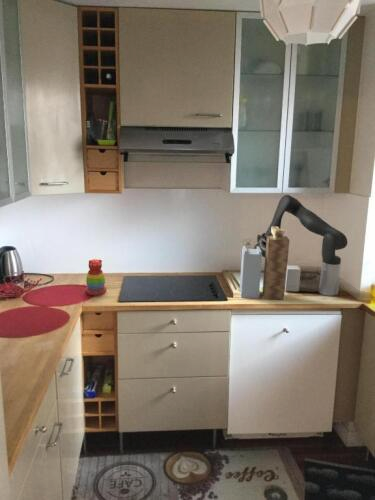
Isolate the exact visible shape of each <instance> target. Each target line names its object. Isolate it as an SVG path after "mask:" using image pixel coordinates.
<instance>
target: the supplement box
mask: <svg viewBox="0 0 375 500" xmlns="http://www.w3.org/2000/svg"><path fill="white" fill-rule="evenodd" d="M301 272H302V270H301V267H300V266H299V265H297V264H296V265H293V264H287V272H286V282H285V292H299V291H300V282H301V281H300V280H301V274H302V273H301Z"/></svg>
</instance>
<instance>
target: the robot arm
mask: <svg viewBox="0 0 375 500" xmlns="http://www.w3.org/2000/svg"><path fill="white" fill-rule="evenodd" d="M285 213H288V214H291V215H292V216H294V217H296V218H297V219H298V220H299V222H300V224H301V225H302V226H303V227H304V228H306V229H307V231H309V232H311V233H312V234H316V235H318V236H321V237H323V239H322V245H321V257H322V259H321V260H322V261H321V269H320V275H319V276H320V277H319V287H318V293H319V294H320V295H324V296H329V297H331V296H332V297H333V296H337V295H339V289H340V288H339V287H340V280H341V278H340V272H341V271H340V269H341V265H342V264H341V262H342V261H341V260H342V258H341V257H340V256H338V255H336V251H339V250H343V249H345V248H346V247H347V246H348V238H347V236H346V234H344V233H343V232H342V231H340V230H338V229H337V228H336V227H334V226H331V225H330V224H329V223H327V222H326V221H325V220H324V219H322V218H321V217H320V216H319V215H317V214H316V213H315V212H313V211H312V210H311V209H310V210H309V209H308V208H306V206H304V205H303V203H301V201H299V200H298V199H297V198H296V197H293V196H291V195H289V194H285V195H284V194H283V196H282V197H281V198H280V200H279V201H278V204H277V207H276V209H275V212H274V214H273V217H272V220H271V222H270V224H269V226H268V228H267V230H266V232H263V233H261V235H260V234H257V237H256V242H257V243H256V244H255V245H254V247H253V249H257V246H259V247H260V249H261V251H262V258H265V254H266V241H267V236H273V234H272V233H271V227H272V226H277V227H279V229H282V228H281V226H282V220H283V217H284V214H285Z"/></svg>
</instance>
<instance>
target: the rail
mask: <svg viewBox="0 0 375 500" xmlns="http://www.w3.org/2000/svg"><path fill="white" fill-rule="evenodd" d="M271 233H272V234H273V238H274V239H275V240H284V236H285V233H286V231H285V229H283V228H280V229H279V227H277V226H272V227H271Z"/></svg>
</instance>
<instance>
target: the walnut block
mask: <svg viewBox="0 0 375 500" xmlns="http://www.w3.org/2000/svg"><path fill="white" fill-rule="evenodd" d="M289 250H290V238H288V236H285V235H284V240H275V239H274V238H273V236H267V241H266V254H265V257H264V267H263V268H264V269H263V281H262V292H261V293H262V294H263V295H262V294H261V295H262V298H263V300H265V301H285V292H286V291H285V282H286V272H287V265H288V259H289Z"/></svg>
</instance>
